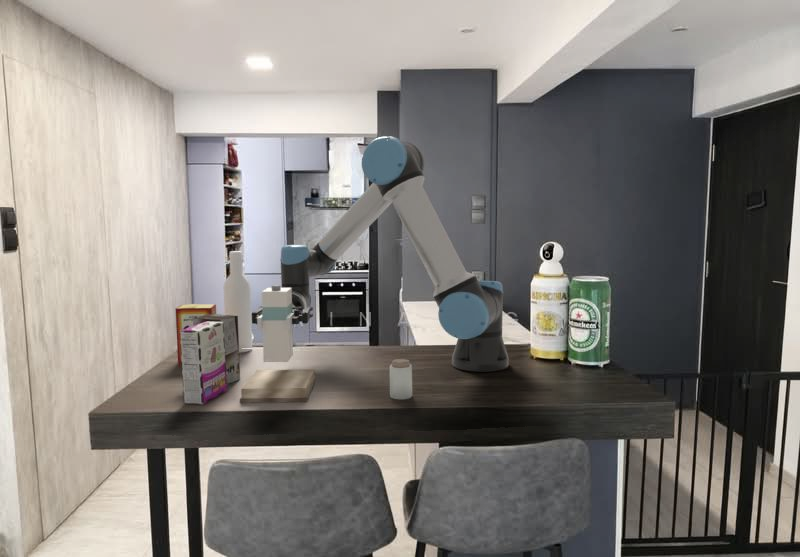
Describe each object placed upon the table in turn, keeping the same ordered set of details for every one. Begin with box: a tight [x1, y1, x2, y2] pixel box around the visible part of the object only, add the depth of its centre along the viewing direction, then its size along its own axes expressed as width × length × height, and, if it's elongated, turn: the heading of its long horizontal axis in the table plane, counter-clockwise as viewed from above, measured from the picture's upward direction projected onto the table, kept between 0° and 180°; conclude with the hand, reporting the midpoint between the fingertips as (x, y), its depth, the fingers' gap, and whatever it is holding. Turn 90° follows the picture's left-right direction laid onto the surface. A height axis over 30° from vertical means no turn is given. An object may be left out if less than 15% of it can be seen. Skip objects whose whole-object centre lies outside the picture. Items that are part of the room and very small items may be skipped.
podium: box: [239, 368, 317, 403], centre depth 141 cm, size 15×17×3 cm
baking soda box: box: [175, 303, 217, 365], centre depth 169 cm, size 10×6×16 cm
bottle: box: [223, 250, 253, 354], centre depth 183 cm, size 8×8×30 cm
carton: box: [261, 284, 294, 363], centre depth 139 cm, size 6×7×17 cm
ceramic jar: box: [389, 358, 413, 400], centre depth 136 cm, size 5×5×8 cm
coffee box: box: [193, 313, 241, 385], centre depth 150 cm, size 9×6×16 cm
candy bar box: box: [180, 321, 228, 405], centre depth 136 cm, size 11×5×16 cm, turn 168°
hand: (273, 323), depth 134 cm, fingers closed on carton, 6 cm apart
